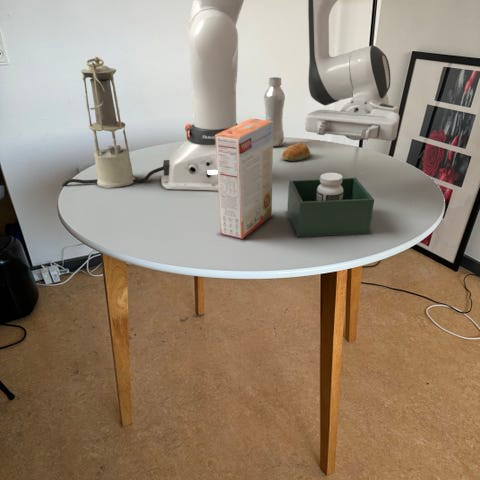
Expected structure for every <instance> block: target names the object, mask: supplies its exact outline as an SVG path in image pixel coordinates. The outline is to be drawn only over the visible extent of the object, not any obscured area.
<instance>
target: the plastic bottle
mask: <svg viewBox="0 0 480 480" xmlns="http://www.w3.org/2000/svg"><path fill="white" fill-rule="evenodd" d="M268 86H269V87H268V88H267V89H266V91H265V93H264V96H263V101H264V111H265V120H267V121H273V147H278V146H282V144H283V143H284V139H285V134H284V123H283V118H284V117H283V115H284V107H285V101H286V96H285V92H284V91H283V89H282V87H281V86H282V77H277V76H275V77H269V78H268Z"/></svg>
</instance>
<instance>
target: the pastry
mask: <svg viewBox="0 0 480 480" xmlns="http://www.w3.org/2000/svg"><path fill="white" fill-rule="evenodd" d="M310 155H311V151H310V148H309V147H308V145H307V144H306V143H305V142H296V144H292V145H289V146H288V147H287V148H286V149H285V150H284V151H283V152H282V154H281V158H282V160H286V161H290V162H296V161H302V160H304V159H308V158H309V156H310Z"/></svg>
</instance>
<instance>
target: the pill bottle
mask: <svg viewBox="0 0 480 480" xmlns="http://www.w3.org/2000/svg"><path fill="white" fill-rule="evenodd" d="M343 178H344V176H343V175H342V174H340V173H337V172H324V173H322V174H321V175H320V176H319V179H320V183H321V184H320V185H319V186H318V188H317V196H316V201H328V200H342V199H343V187H342V186H341V183H342V179H343Z"/></svg>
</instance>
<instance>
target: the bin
mask: <svg viewBox="0 0 480 480" xmlns="http://www.w3.org/2000/svg"><path fill="white" fill-rule="evenodd" d="M320 184H321V183H320V178H313V179H312V178H311V179H290V180H288V188H287V189H288V191H287V192H288V193H287V208H286V209H287V211H286V213H287V215H288V217H289V219H290V221H291V224H292V226H293V228H294V231H295V233H296V236H297V238H308V237H328V236H329V237H331V236H348V235H349V236H350V235H369V234H370V230H371V222H372V216H373V211H374V205H375V198H373V196H372V195H371V194H370V193H369V191H367V189H366V188H365V187H364V186H363V184H362V183H361V182H360V181H359V180H358V179H357V178H356V177H343V179H342V183H341V186H342V187H343V199H342V200H328V201H316V196H317V188H318V186H319V185H320Z"/></svg>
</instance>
